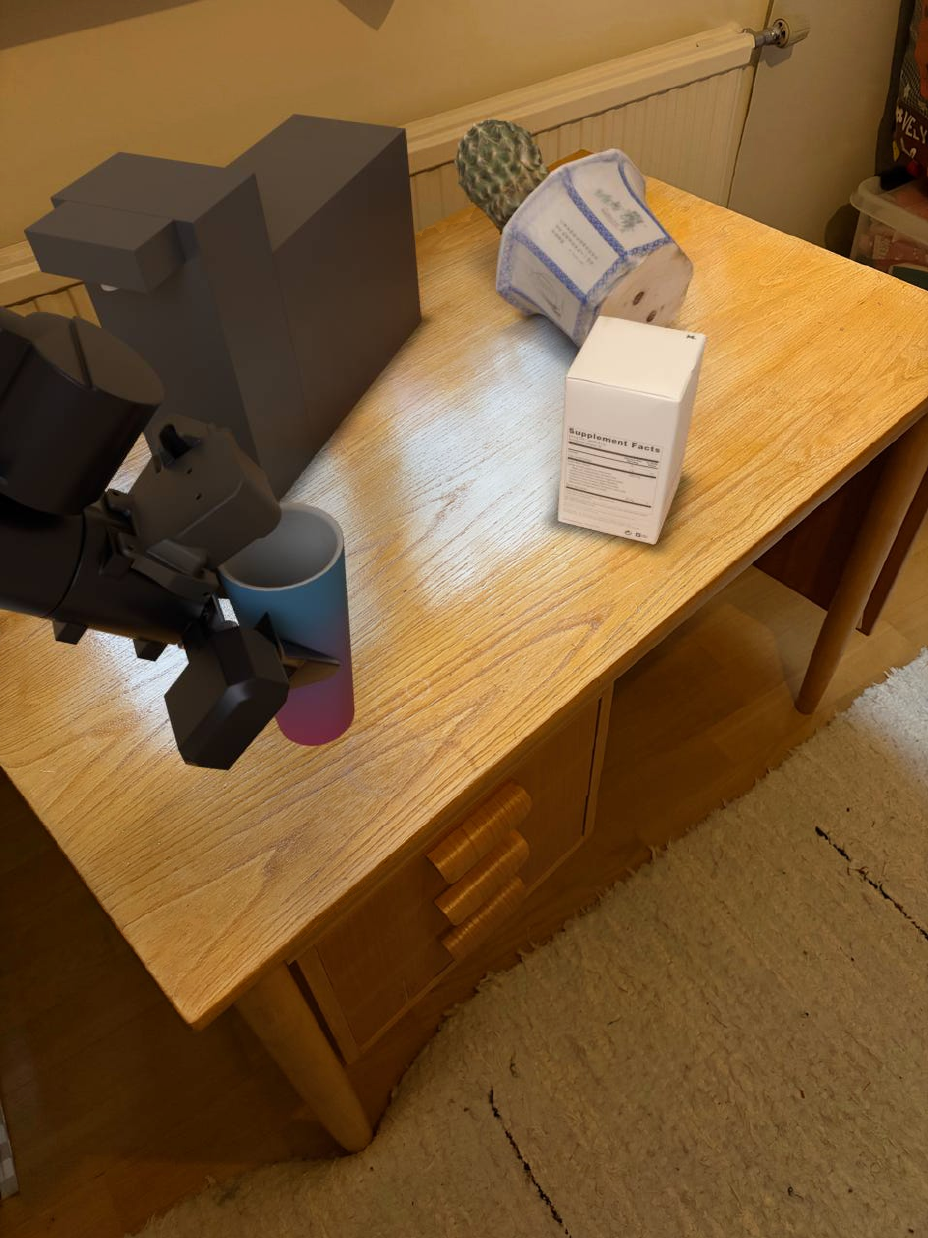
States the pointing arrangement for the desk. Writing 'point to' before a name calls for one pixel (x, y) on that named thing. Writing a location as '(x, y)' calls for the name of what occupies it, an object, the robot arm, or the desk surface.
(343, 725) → the cup
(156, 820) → the desk surface
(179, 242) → the coffee maker
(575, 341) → the potted plant
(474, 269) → the desk surface
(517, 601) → the desk surface
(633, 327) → the white product box
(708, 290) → the desk surface
